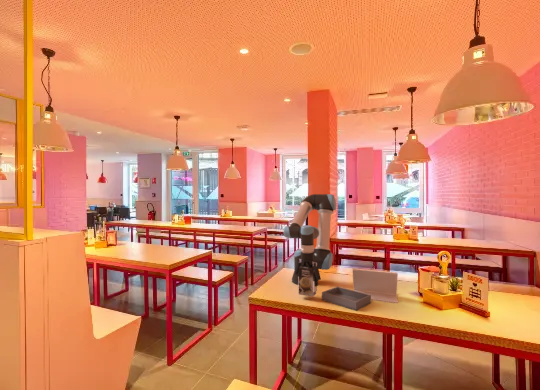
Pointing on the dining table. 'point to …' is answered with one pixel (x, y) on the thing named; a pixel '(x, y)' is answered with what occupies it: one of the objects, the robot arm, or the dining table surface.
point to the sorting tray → (346, 298)
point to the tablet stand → (376, 284)
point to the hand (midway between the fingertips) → (307, 289)
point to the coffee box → (306, 281)
